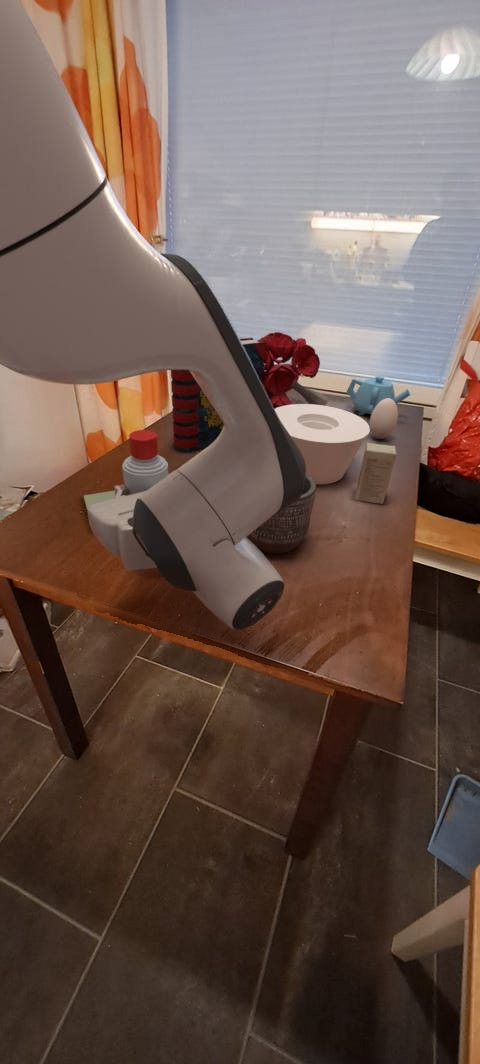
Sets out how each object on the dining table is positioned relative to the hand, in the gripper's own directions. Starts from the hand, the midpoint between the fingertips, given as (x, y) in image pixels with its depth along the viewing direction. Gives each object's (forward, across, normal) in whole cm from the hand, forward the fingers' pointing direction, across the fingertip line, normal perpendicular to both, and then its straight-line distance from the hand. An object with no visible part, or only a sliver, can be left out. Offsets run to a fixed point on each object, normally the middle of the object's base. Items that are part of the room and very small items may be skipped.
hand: (144, 483), depth 63 cm
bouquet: (+51, -69, +16) cm, 87 cm away
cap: (-1, 0, -8) cm, 8 cm away
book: (+40, -37, +16) cm, 56 cm away
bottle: (-1, 0, +8) cm, 9 cm away
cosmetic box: (-3, -52, +16) cm, 54 cm away
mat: (+19, -4, +16) cm, 25 cm away
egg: (+19, -81, +16) cm, 85 cm away
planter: (-5, -23, +16) cm, 28 cm away
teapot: (+35, -96, +15) cm, 103 cm away
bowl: (+15, -50, +16) cm, 54 cm away
